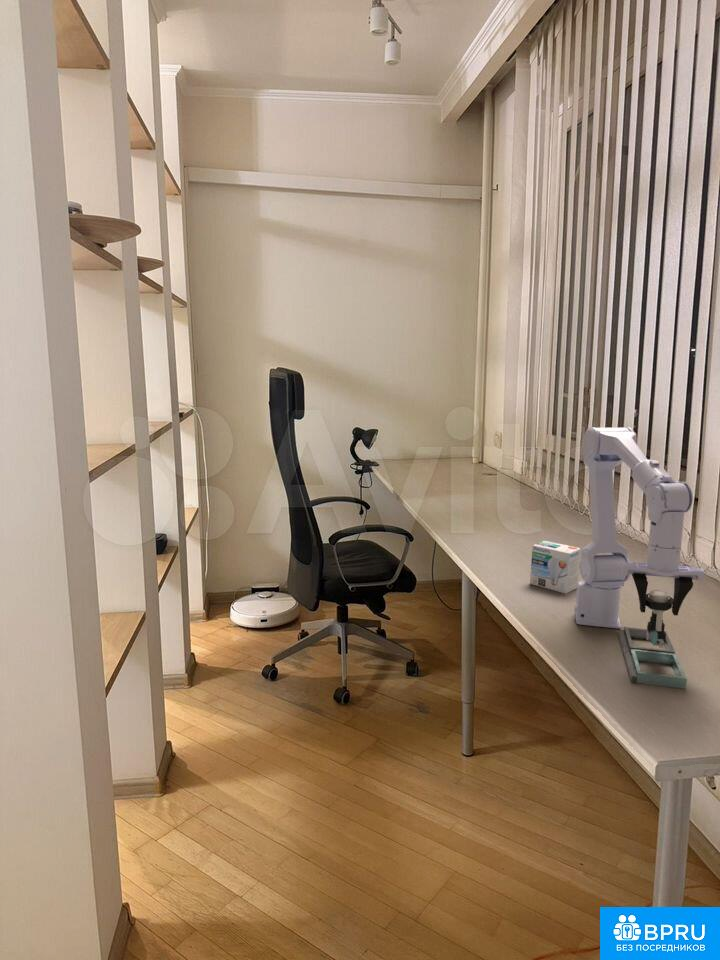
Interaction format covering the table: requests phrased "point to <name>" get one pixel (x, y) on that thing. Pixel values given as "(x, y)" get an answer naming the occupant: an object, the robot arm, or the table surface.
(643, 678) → the grey teal rectangular frame
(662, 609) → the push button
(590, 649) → the table surface
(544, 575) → the light bulb box
